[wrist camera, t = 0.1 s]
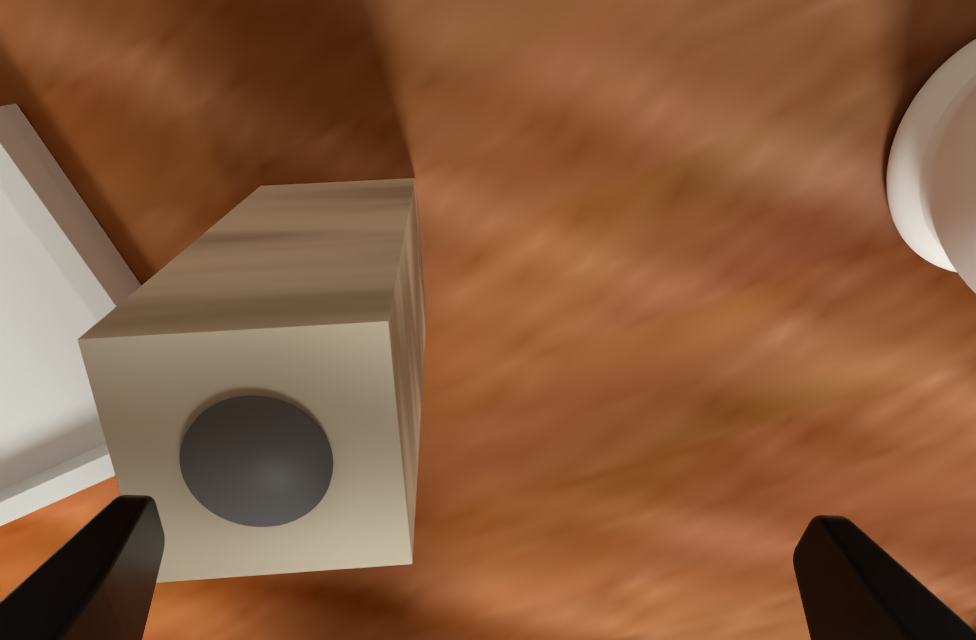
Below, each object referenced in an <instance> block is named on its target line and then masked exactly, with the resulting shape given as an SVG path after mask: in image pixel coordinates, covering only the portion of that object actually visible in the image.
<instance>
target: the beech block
mask: <svg viewBox="0 0 976 640" xmlns="http://www.w3.org/2000/svg"><path fill="white" fill-rule="evenodd" d="M425 333H426V310H425V298H424V285H423V272H422V259H421V246H420V233H419V221H418V208H417V195H416V182H415V178H404V179H384V180H365V181H345V182H325V183H306V184H286V185H266V186H260V187H258V188H257V189H256V190H255V191H254V192H253V193H251V194H250V195H249V196H248V197H247V198H245V199H244V200H243V201H242V202H241V203H239V204H238V205H237V206H236V207H235V208H233V209H232V210H231V211H230V212H229V213H227V214H226V215H225V216H224V217H223V218H222V219H220V220H219V221H218V222H217V223H216V224H214V225H213V226H212V227H211V228H210V229H208V230H207V231H206V232H205V233H204V234H202V235H201V236H200V237H199V238H198V239H197V240H195V241H194V242H193V243H192V244H191V245H189V246H188V247H187V248H186V249H185V250H183V251H182V252H181V253H180V254H179V255H177V256H176V257H175V258H174V259H173V260H171V261H170V262H169V263H168V264H167V265H166V266H164V267H163V268H162V269H161V270H160V271H158V272H157V273H156V274H155V275H154V276H152V277H151V278H150V279H149V280H148V281H146V282H145V283H144V284H143V285H142V286H140V287H139V288H138V289H137V290H136V291H135V292H133V293H132V294H131V295H130V296H129V297H127V298H126V299H125V300H124V301H123V302H121V303H120V304H119V305H118V306H117V307H115V308H114V309H113V310H112V311H111V312H109V313H108V314H107V315H106V316H105V317H104V318H102V319H101V320H100V321H99V322H98V323H96V324H95V325H94V326H93V327H92V328H90V329H89V330H88V331H87V332H86V333H84V334H83V335H82V336H81V337H80V338H78V339H77V340H78V344H79V347H80V351H81V354H82V358H83V362H84V365H85V369H86V372H87V376H88V379H89V383H90V387H91V390H92V394H93V397H94V401H95V404H96V408H97V412H98V415H99V419H100V422H101V426H102V430H103V433H104V437H105V440H106V444H107V447H108V451H109V455H110V458H111V462H112V465H113V469H114V472H115V476H116V480H117V483H118V487H119V490H120V494H121V495H148V496H151V497H152V498H153V499H154V500H155V503H156V506H157V509H158V513H159V516H160V520H161V523H162V527H163V531H164V535H165V546H164V552H163V556H162V560H161V565H160V569H159V573H158V577H157V581H156V583H158V582H172V581H185V580H199V579H213V578H227V577H241V576H254V575H268V574H282V573H296V572H310V571H323V570H337V569H351V568H365V567H379V566H392V565H406V564H412V561H413V543H414V526H415V508H416V490H417V473H418V455H419V438H420V420H421V403H422V385H423V368H424V350H425Z"/></svg>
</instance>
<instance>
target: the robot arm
mask: <svg viewBox="0 0 976 640" xmlns="http://www.w3.org/2000/svg"><path fill="white" fill-rule="evenodd" d="M164 546H165V535H164V531H163V527H162V523H161V520H160V516H159V513H158V509H157V506H156V503H155V500H154V499H153V498H152V497H151V496H148V495H121V496H118V497H117V498H115V499H114V500H112V501H111V502H110V503H109V504H108V505H107V506H106V507H105V508H103V509H102V510H101V511H100V512H99V513H98V514H97V515H96V516H95V517H94V518H92V519H91V520H90V521H89V522H88V523H87V524H86V525H85V526H84V527H83V528H81V529H80V530H79V531H78V532H77V533H76V534H75V535H74V536H73V537H72V538H70V539H69V540H68V541H67V542H66V543H65V544H64V545H63V546H62V547H61V548H59V549H58V550H57V551H56V552H55V553H54V554H53V555H52V556H51V557H50V558H48V559H47V560H46V561H45V562H44V563H43V564H42V565H41V566H40V567H39V568H37V569H36V570H35V571H34V572H33V573H32V574H31V575H30V576H29V577H27V578H26V579H25V580H24V581H23V582H22V583H21V584H20V585H19V586H18V587H16V588H15V589H14V590H13V591H12V592H11V593H10V594H9V595H8V596H7V597H5V598H4V599H3V600H2V601H1V602H0V640H142V637H143V633H144V629H145V625H146V621H147V617H148V613H149V609H150V605H151V601H152V597H153V593H154V589H155V585H156V581H157V577H158V573H159V569H160V565H161V560H162V556H163V552H164ZM793 564H794V570H795V574H796V578H797V583H798V587H799V591H800V595H801V600H802V604H803V608H804V612H805V616H806V621H807V625H808V629H809V633H810V638H811V640H976V631H974V630H973V629H972V628H971V627H970V626H969V625H968V624H967V623H965V622H964V621H963V620H962V619H961V618H960V617H959V616H958V615H956V614H955V613H954V612H953V611H952V610H951V609H950V608H949V607H947V606H946V605H945V604H944V603H943V602H942V601H941V600H940V599H938V598H937V597H936V596H935V595H934V594H933V593H932V592H931V591H929V590H928V589H927V588H926V587H925V586H924V585H923V584H921V583H920V582H919V581H918V580H917V579H916V578H915V577H914V576H912V575H911V574H910V573H909V572H908V571H907V570H906V569H905V568H903V567H902V566H901V565H900V564H899V563H898V562H897V561H896V560H894V559H893V558H892V557H891V556H890V555H889V554H888V553H887V552H885V551H884V550H883V549H882V548H881V547H880V546H879V545H878V544H876V543H875V542H874V541H873V540H872V539H871V538H870V537H869V536H867V535H866V534H865V533H864V532H863V531H862V530H861V529H859V528H858V527H857V526H856V525H855V524H854V523H853V522H851V521H850V520H849V519H847V518H845V517H842V516H828V515H818V516H816V517H814V518H813V519H812V520H811V521H810V523H809V525H808V527H807V528H806V530H805V532H804V534H803V535H802V537H801V539H800V541H799V543H798V544H797V546H796V548H795V551H794V555H793Z"/></svg>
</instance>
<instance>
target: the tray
mask: <svg viewBox="0 0 976 640" xmlns="http://www.w3.org/2000/svg"><path fill="white" fill-rule="evenodd" d="M140 286H141V284H140V283H139V281H138V280H137V278H136V277H135V275H134V274H133V273H132V271H131V270H130V268H129V267H128V265H127V264H126V262H125V261H124V259H123V258H122V256H121V255H120V254H119V252H118V251H117V249H116V248H115V246H114V245H113V243H112V242H111V240H110V239H109V238H108V236H107V235H106V233H105V232H104V230H103V229H102V227H101V226H100V224H99V223H98V222H97V220H96V219H95V217H94V216H93V214H92V213H91V211H90V210H89V208H88V207H87V206H86V204H85V203H84V201H83V200H82V198H81V197H80V195H79V194H78V192H77V191H76V190H75V188H74V187H73V185H72V184H71V182H70V181H69V179H68V178H67V176H66V175H65V173H64V172H63V171H62V169H61V168H60V166H59V165H58V163H57V162H56V160H55V159H54V157H53V156H52V155H51V153H50V152H49V150H48V149H47V147H46V146H45V144H44V143H43V141H42V140H41V139H40V137H39V136H38V134H37V133H36V131H35V130H34V128H33V127H32V125H31V124H30V123H29V121H28V120H27V118H26V117H25V115H24V114H23V112H22V111H21V109H20V108H19V107H18V105H17V104H11V105H5V106H0V526H2V525H4V524H6V523H8V522H11V521H13V520H15V519H17V518H20V517H22V516H24V515H27V514H29V513H31V512H33V511H36V510H38V509H40V508H42V507H45V506H47V505H49V504H51V503H54V502H56V501H58V500H60V499H63V498H65V497H67V496H69V495H72V494H74V493H76V492H78V491H81V490H83V489H85V488H87V487H90V486H92V485H94V484H96V483H99V482H101V481H103V480H106V479H108V478H110V477H112V476H115V472H114V469H113V465H112V462H111V458H110V455H109V451H108V447H107V444H106V440H105V437H104V433H103V430H102V426H101V422H100V419H99V415H98V412H97V408H96V404H95V401H94V397H93V394H92V390H91V387H90V383H89V379H88V376H87V372H86V369H85V365H84V362H83V358H82V354H81V351H80V347H79V344H78V340H77V339H78V338H80V337H81V336H82V335H83V334H84V333H86V332H87V331H88V330H89V329H90V328H92V327H93V326H94V325H95V324H96V323H98V322H99V321H100V320H101V319H102V318H104V317H105V316H106V315H107V314H108V313H109V312H111V311H112V310H113V309H114V308H115V307H117V306H118V305H119V304H120V303H121V302H123V301H124V300H125V299H126V298H127V297H129V296H130V295H131V294H132V293H133V292H135V291H136V290H137V289H138V288H139V287H140Z"/></svg>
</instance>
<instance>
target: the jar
mask: <svg viewBox="0 0 976 640" xmlns="http://www.w3.org/2000/svg"><path fill="white" fill-rule="evenodd" d="M886 184H887V199H888V204H889V209H890V213H891V216H892V219H893V221H894V224H895V226H896V228H897V230H898V231H899V233H900V235H901V236H902V238H903V239H904V241H905V242H906V243H907V244H908V245H909V246H910V248H911V249H912V250H913V251H915V252H916V253H917V254H918V255H919V256H921V257H922V258H924V259H925V260H927V261H928V262H930V263H932V264H934V265H936V266H938V267H941V268H944V269H947V270H950V271H954V272H958V274H959V275H960V276H961V278H962V279H963V280H964V281H965V282H966V284H967V285H968V286H969V287H970V288H971V289H972V290H973V291H974V292H975V293H976V39H975V40H973V41H971V42H970V43H969V44H967V45H966V46H964V47H963V48H961V49H960V50H959V51H957V52H956V53H955V54H954V55H952V56H951V57H950V58H949V59H948V60H947V61H946V62H945V63H944V64H942V65H941V66H940V67H939V68H938V69H937V70H936V71H935V72H934V73H933V75H932V76H931V77H930V78H929V79H928V80H927V82H926V83H925V84H924V85H923V87H922V88H921V89H920V91H919V92H918V93H917V95H916V96H915V98H914V99H913V101H912V102H911V104H910V106H909V107H908V109H907V111H906V113H905V115H904V117H903V118H902V120H901V123H900V125H899V127H898V130H897V132H896V135H895V138H894V141H893V144H892V147H891V151H890V155H889V161H888V167H887V178H886Z"/></svg>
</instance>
